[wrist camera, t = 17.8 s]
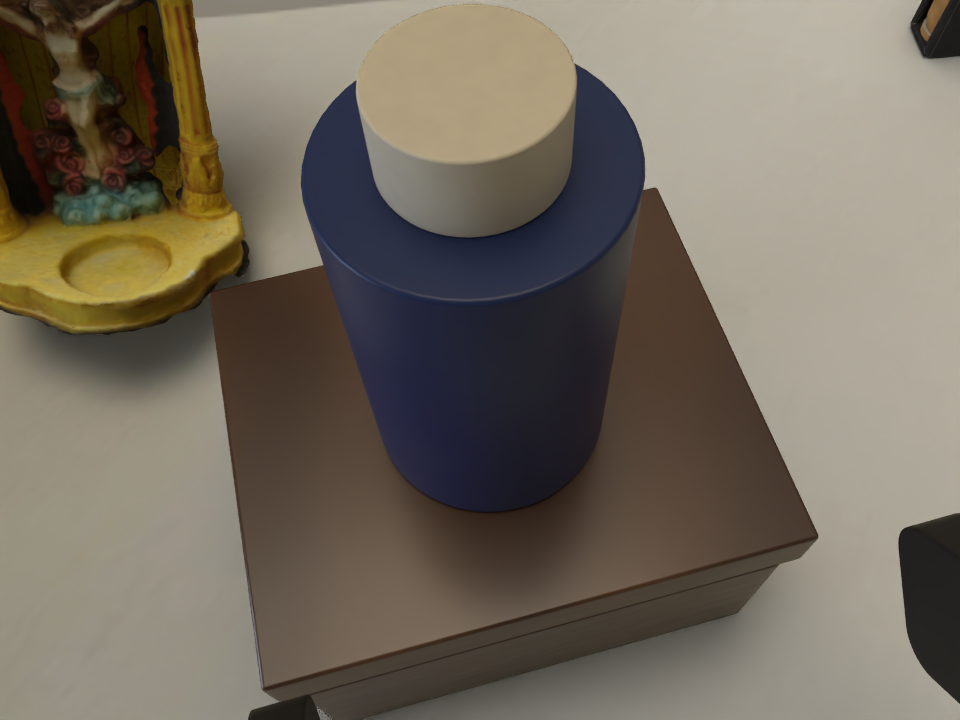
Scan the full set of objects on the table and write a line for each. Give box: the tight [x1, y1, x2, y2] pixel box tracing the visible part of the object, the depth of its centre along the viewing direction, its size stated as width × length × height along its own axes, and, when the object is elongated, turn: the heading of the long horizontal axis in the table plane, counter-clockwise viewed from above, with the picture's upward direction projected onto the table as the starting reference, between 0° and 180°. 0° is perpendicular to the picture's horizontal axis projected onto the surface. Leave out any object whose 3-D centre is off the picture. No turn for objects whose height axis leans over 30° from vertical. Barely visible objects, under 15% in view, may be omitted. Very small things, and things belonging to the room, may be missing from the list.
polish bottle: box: [301, 4, 645, 512], centre depth 16 cm, size 5×5×10 cm
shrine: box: [0, 0, 250, 335], centre depth 25 cm, size 12×8×15 cm
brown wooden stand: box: [210, 188, 818, 720], centre depth 24 cm, size 12×10×6 cm
